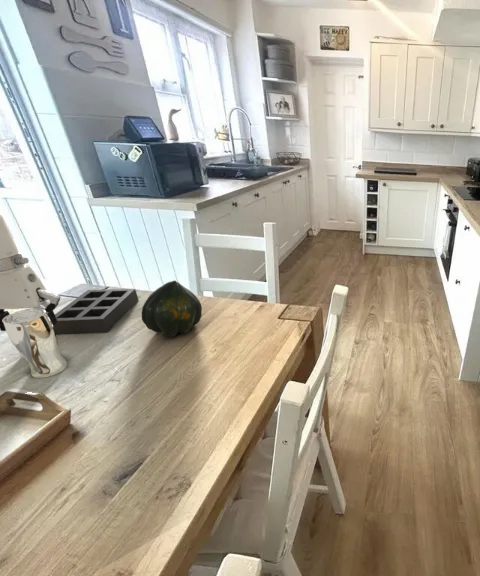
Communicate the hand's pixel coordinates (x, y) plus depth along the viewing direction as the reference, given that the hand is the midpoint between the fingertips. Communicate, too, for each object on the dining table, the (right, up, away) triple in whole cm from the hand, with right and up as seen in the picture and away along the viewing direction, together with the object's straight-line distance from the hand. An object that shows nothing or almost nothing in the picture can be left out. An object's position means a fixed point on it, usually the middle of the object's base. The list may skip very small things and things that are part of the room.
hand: (30, 326), depth 81 cm
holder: (+2, +1, +17) cm, 17 cm away
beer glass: (+10, -10, -4) cm, 14 cm away
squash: (+28, -2, +15) cm, 31 cm away
